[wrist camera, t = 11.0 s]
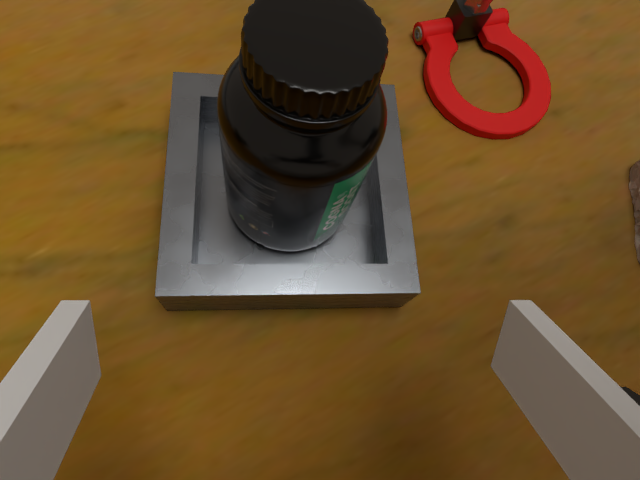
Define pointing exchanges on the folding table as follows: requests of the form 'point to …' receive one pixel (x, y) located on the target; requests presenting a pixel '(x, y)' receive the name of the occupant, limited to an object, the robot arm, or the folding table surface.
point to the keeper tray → (262, 262)
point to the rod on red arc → (492, 29)
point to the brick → (636, 202)
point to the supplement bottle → (301, 117)
